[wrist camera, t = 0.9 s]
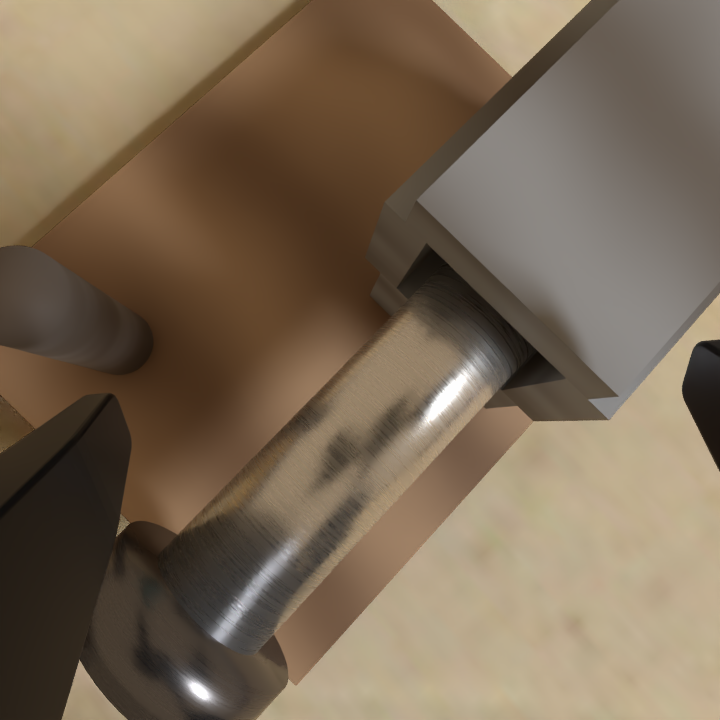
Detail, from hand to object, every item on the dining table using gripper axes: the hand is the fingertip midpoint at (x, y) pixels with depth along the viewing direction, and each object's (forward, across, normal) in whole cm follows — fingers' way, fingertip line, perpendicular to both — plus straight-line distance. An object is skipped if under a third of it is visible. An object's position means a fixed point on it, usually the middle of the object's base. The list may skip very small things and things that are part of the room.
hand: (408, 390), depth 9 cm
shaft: (+5, 0, +5) cm, 7 cm away
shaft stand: (+10, +1, +4) cm, 11 cm away
